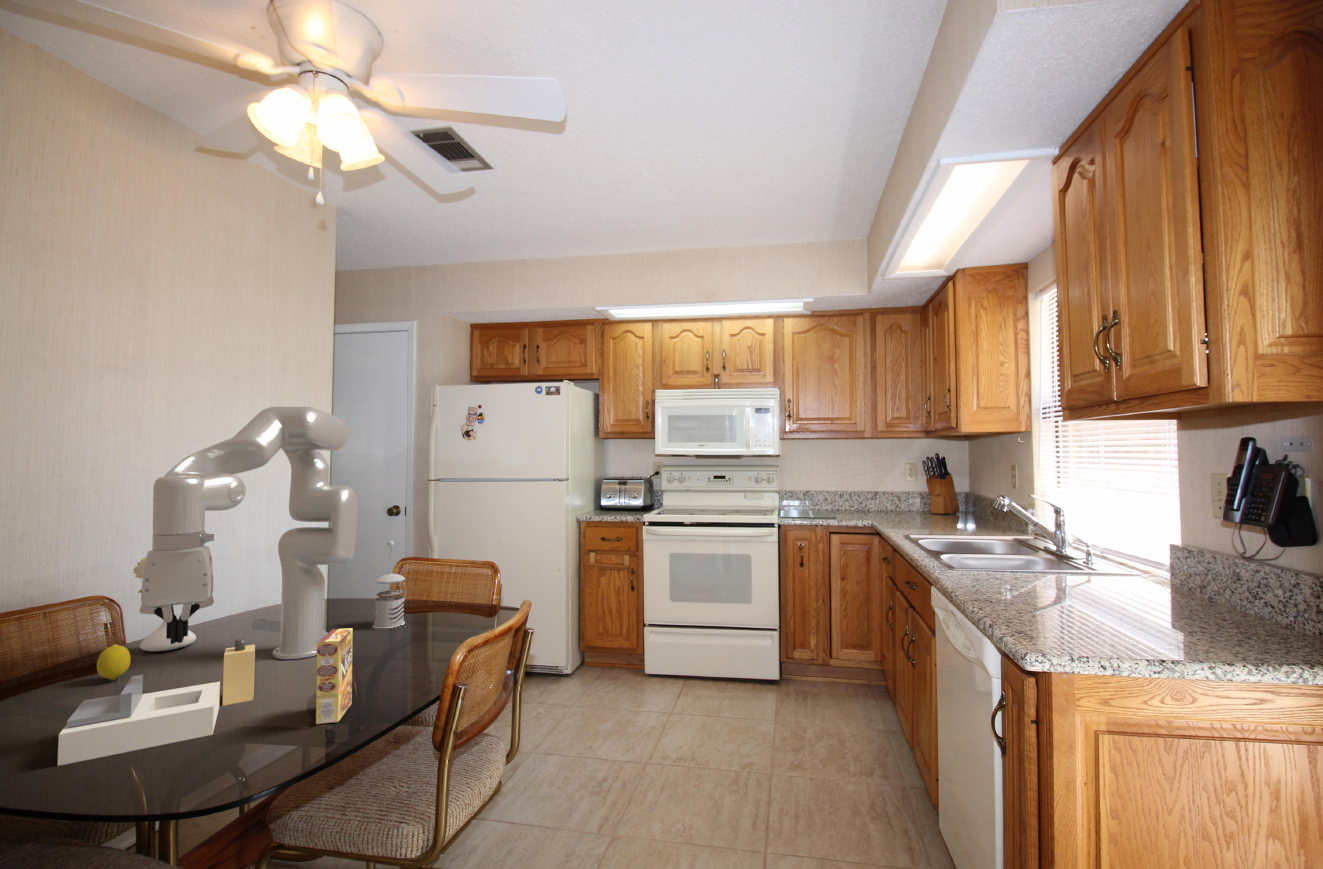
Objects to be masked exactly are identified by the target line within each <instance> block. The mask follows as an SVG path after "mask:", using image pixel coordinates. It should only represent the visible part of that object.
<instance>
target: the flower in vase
mask: <svg viewBox="0 0 1323 869" xmlns="http://www.w3.org/2000/svg"><path fill="white" fill-rule="evenodd" d="M146 557H147V556H146ZM146 557H143V558H142V559H140V561H139V562H137V564H136V566H134V568H133V574H135V578H138V579H140V580H141V579H143V572H144V565H145V561H146ZM141 590H142V588H140V590H138V591H137V593H139V594H140V593H141ZM173 608H174V613H175V614H176V608H177V605H173ZM162 620H163V619H162ZM166 630H167V623H166V622H165V621H164V620H163V621H162V623H161V625H160V626H159V627H158V628H157V629H155V630H154V631H152V633H150V634H148V636H146V637H145V638H144V639H143V640H142V641H141V642H140V644H139V648H140V649H141V650H142V651H147V652H163V651H164V652H165V651H171V650H176V649H180V648H184V647H187V646H188V645H190V644H192V643H194V642H195V641H196V639H197V636H196V634H195V633H194V632H193V631H191V630H190V629H188V636H185V637H184V639H183V641H182V643H178V642H177V641H176V643H174V644H171V638H170V639H167V638H166Z"/></svg>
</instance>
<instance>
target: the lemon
mask: <svg viewBox="0 0 1323 869" xmlns="http://www.w3.org/2000/svg"><path fill="white" fill-rule="evenodd" d="M130 666H131V653H130V651H129V650H128V648H127V647H126V646H124V645H120V644H119V645H118V644H117V643H113V644H112V645H110V646H108V647H107V648H105V649H103V651H102V652H101V653H100V654H99V656H98V659H97V662H96V671H97V673H98V674H99V676H100V677H102V678H104V679H109V680H110V681H111V682H112V681H116V679H118V678H119V677H121V676H122V675H124V674H125V673H126V672H127V671H128V670H129V668H130Z"/></svg>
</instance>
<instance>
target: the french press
mask: <svg viewBox="0 0 1323 869" xmlns="http://www.w3.org/2000/svg"><path fill="white" fill-rule="evenodd" d="M394 545H395V541H394V540H390V541H388V542H387V546H389V548H390V549H389V550H390V552H389V557H390V558H389V560H390V561H389V573H386V574H383V575H380V576H379V577H377V578H376V579H375V580H374V581H375V583H377V584H389V586H391V585H392V584H394V585H395V587H399V589H400V590H398V589H396V590H391V589H389V590H383V591H379V592H377V593H376V596H377V597H376V598H375V601H374V602H375V603H374V604H375V605H374V607H375V609H374V624H373V625H372V626H373V627H374V628H393V627H397V626H400V625H404V624H405V622H406V621H405V620H404V619H405V618H404V617H405V616H404V614H405V611H404V610H405V609H404V606H405V600H406V597H407V588H406V584H405V582H404V581H405V580H406V578H405V577H404V576H403V575H401V574H398V573H392V563H391V562H392V546H394ZM402 583H403V587H404V592H403V590H402V587H401V585H402ZM397 584H398V585H397ZM403 593H404V595H403ZM397 597H398V599H397Z"/></svg>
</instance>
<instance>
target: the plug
mask: <svg viewBox="0 0 1323 869" xmlns="http://www.w3.org/2000/svg"><path fill="white" fill-rule="evenodd" d="M255 659H256V644H249V645H247V644H246V638H238V639H235V640H234V646H233V647H227V648H225V650H224V654H223V679H222V681H223V682H222V683H223V684H222V706H223V707H224V706H228V705H234V704H239V703H245V702H250V701H251V702H252V701H253V700H254V693H255V692H254V690H255V665H256V664H255V661H256V660H255Z"/></svg>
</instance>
